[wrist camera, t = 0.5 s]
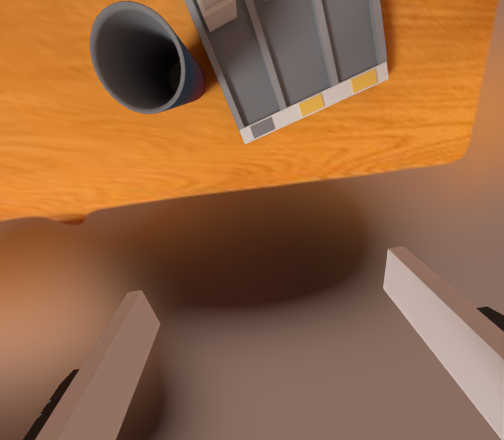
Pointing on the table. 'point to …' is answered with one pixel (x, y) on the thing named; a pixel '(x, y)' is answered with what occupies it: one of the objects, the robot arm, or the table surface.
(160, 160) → the table surface
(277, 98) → the switch bank
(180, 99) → the cup
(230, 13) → the tab
